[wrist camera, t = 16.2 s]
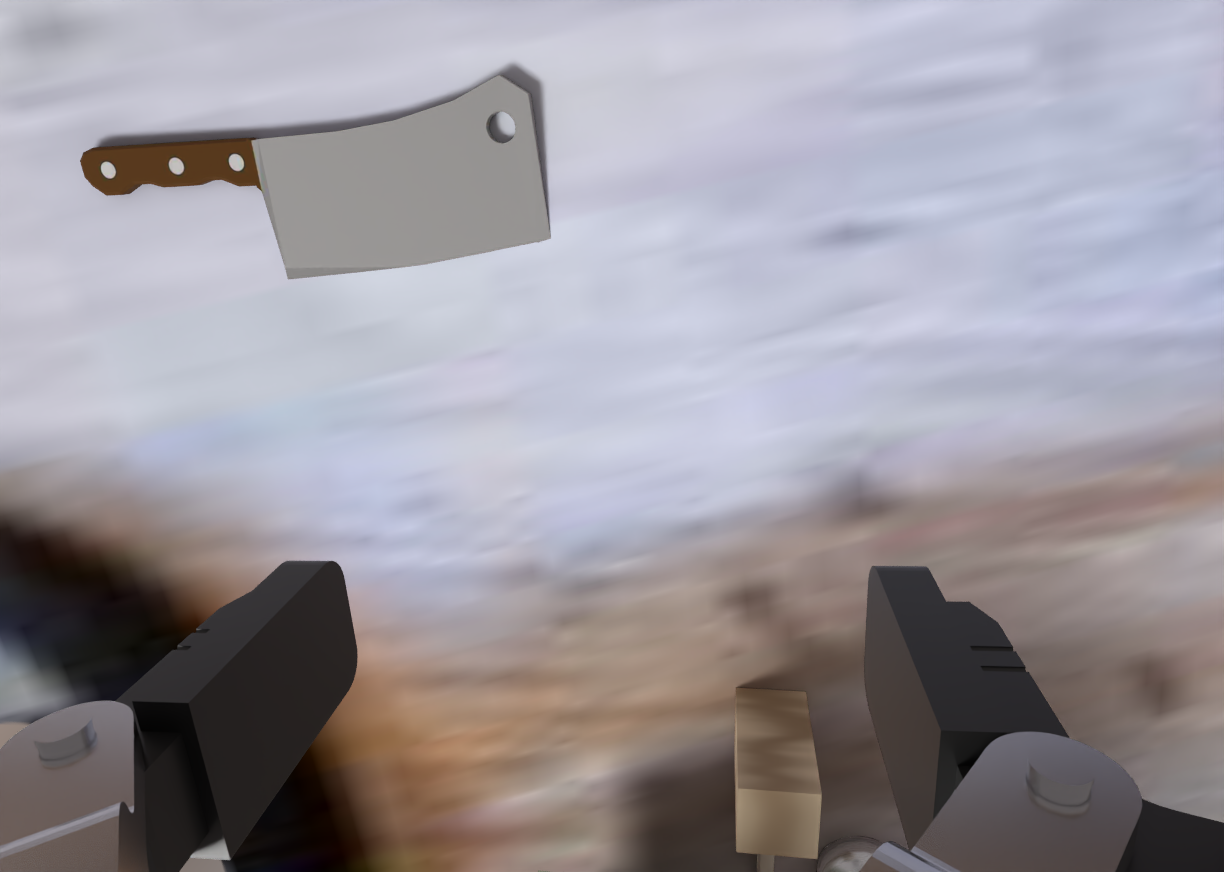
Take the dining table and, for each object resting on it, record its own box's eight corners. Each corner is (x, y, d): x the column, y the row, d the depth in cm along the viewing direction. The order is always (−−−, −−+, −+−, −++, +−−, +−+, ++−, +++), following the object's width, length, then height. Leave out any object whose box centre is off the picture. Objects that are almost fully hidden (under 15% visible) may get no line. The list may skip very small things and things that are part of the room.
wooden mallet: (805, 691, 46) (821, 794, 38) (794, 878, 50) (807, 1003, 43) (735, 687, 46) (737, 788, 39) (731, 872, 51) (732, 995, 43)
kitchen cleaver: (119, 304, 43) (61, 106, 40) (132, 300, 44) (77, 106, 40) (558, 289, 40) (540, 71, 36) (562, 285, 41) (544, 73, 37)
